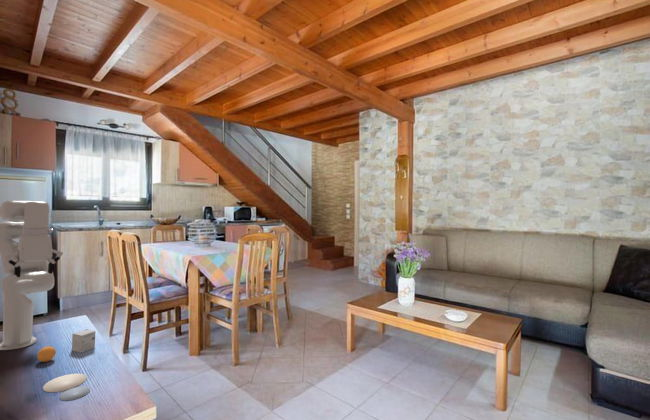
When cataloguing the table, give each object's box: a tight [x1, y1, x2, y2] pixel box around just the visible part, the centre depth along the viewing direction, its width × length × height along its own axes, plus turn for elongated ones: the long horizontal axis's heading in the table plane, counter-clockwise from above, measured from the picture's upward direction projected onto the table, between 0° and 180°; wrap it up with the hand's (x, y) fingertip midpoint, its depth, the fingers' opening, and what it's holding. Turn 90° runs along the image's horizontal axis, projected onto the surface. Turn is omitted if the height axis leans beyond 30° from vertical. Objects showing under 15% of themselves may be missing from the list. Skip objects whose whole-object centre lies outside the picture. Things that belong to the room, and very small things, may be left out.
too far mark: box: [59, 386, 91, 402], centre depth 107 cm, size 8×8×1 cm
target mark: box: [42, 373, 88, 393], centre depth 113 cm, size 12×12×1 cm
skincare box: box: [71, 328, 96, 353], centre depth 140 cm, size 6×6×7 cm
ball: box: [37, 346, 57, 363], centre depth 128 cm, size 6×6×6 cm
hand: (34, 274), depth 128 cm, fingers open, 9 cm apart
